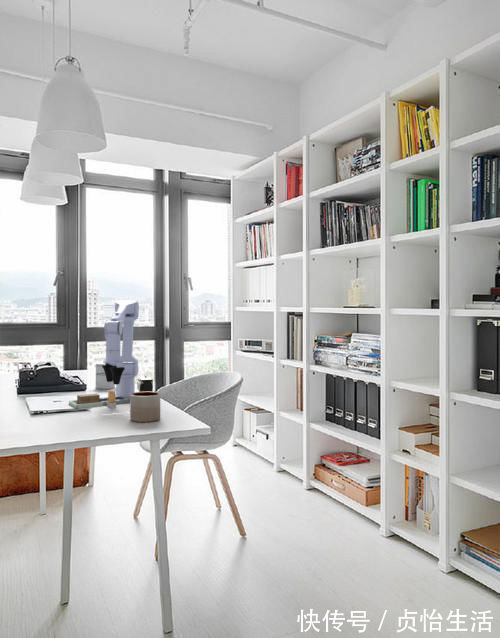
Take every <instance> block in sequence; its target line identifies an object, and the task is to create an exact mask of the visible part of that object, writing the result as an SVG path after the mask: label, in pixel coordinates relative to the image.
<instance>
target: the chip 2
mask: <svg viewBox="0 0 500 638" xmlns="http://www.w3.org/2000/svg"><path fill="white" fill-rule="evenodd" d="M86 394H87V395H90V403H98V402H100V398H101V397H100V396H101V395H100V394H99V393H86Z"/></svg>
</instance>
